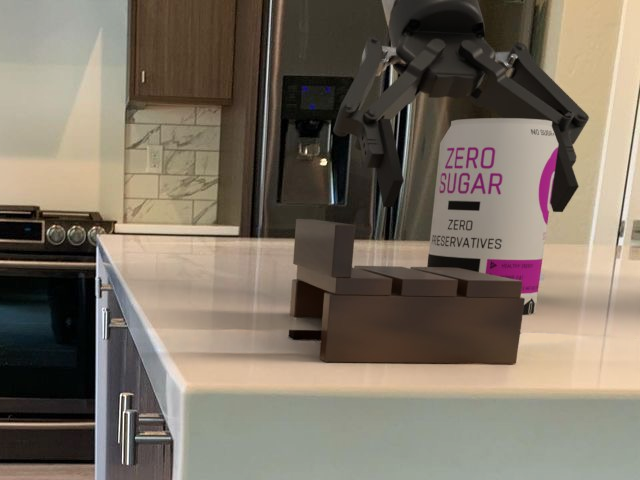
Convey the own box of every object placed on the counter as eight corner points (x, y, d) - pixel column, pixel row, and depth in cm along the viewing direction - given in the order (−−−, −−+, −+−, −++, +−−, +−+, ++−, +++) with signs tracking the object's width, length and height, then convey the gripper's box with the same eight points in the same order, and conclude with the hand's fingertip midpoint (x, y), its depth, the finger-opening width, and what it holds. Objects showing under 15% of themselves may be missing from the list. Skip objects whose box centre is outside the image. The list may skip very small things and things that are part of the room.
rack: (453, 339, 68) (466, 223, 65) (516, 364, 58) (534, 229, 56) (288, 337, 67) (295, 218, 64) (324, 362, 57) (335, 224, 55)
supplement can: (530, 326, 76) (557, 126, 71) (533, 339, 68) (564, 117, 64) (425, 319, 78) (446, 125, 74) (417, 332, 71) (439, 117, 66)
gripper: (550, 57, 87) (611, 235, 77) (281, 45, 84) (308, 227, 74) (589, -20, 80) (662, 164, 70) (299, -35, 78) (331, 153, 68)
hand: (480, 197), depth 72 cm, fingers open, 13 cm apart
